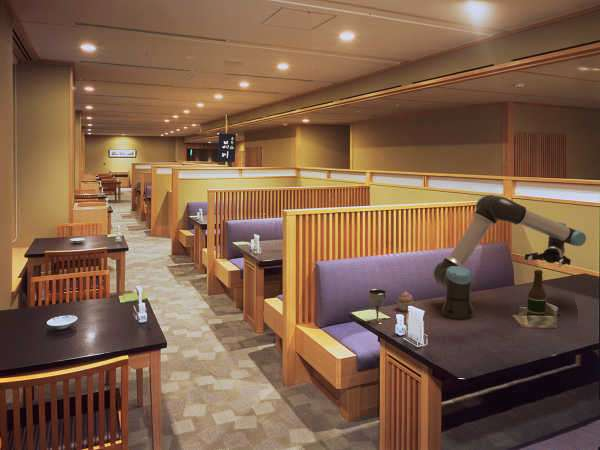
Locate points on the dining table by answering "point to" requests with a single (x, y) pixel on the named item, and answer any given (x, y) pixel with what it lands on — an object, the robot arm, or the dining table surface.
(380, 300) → the wine glass
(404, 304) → the cupcake
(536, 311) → the beer bottle
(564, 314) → the dining table surface
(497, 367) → the dining table surface
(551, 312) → the wooden display stand
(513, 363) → the dining table surface
